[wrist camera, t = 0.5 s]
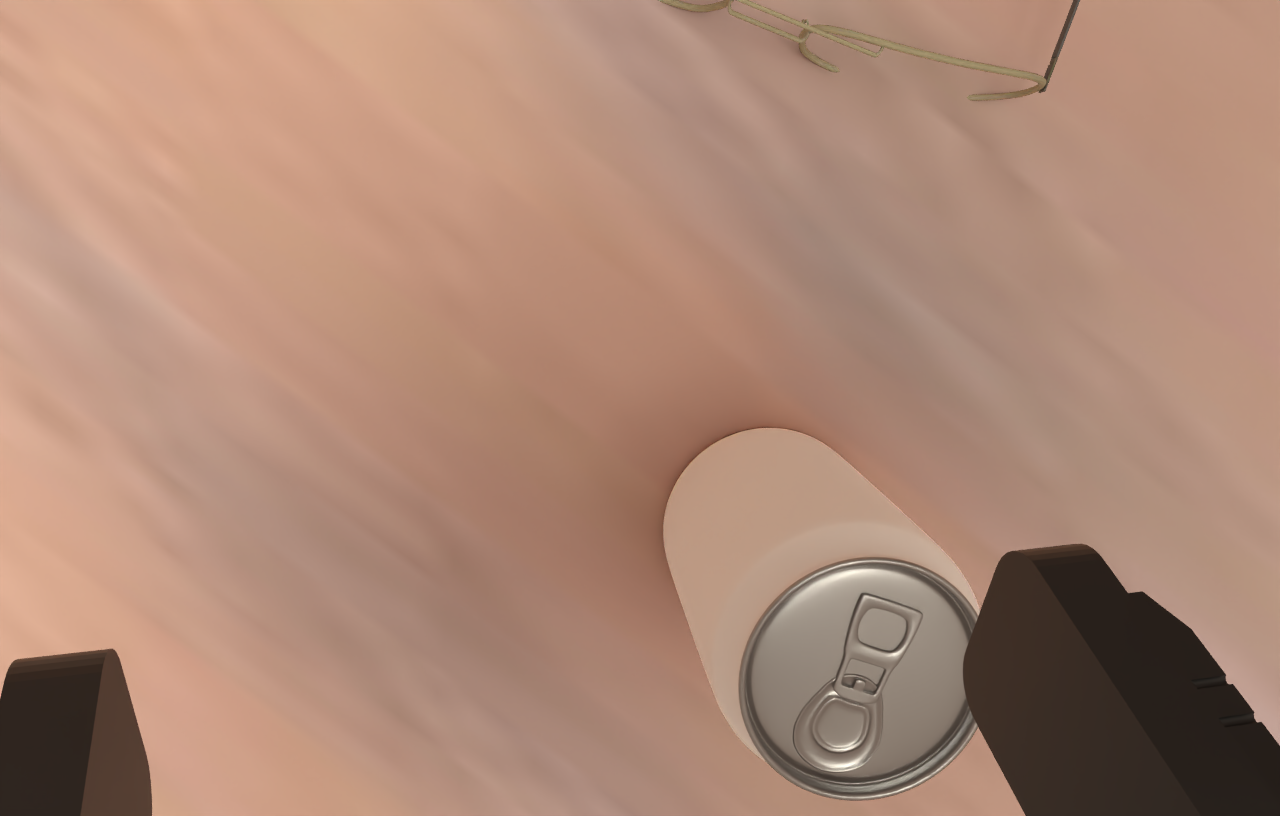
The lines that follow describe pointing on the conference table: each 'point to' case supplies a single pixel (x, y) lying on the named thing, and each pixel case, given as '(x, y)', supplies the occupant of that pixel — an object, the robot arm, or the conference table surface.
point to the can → (820, 616)
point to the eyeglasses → (887, 45)
